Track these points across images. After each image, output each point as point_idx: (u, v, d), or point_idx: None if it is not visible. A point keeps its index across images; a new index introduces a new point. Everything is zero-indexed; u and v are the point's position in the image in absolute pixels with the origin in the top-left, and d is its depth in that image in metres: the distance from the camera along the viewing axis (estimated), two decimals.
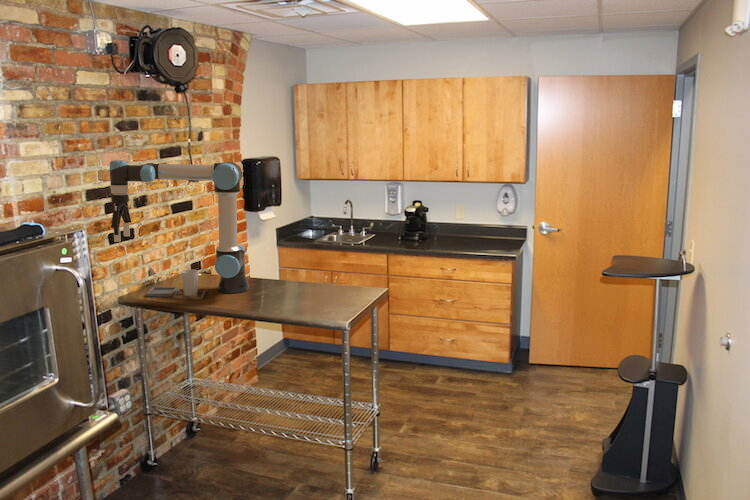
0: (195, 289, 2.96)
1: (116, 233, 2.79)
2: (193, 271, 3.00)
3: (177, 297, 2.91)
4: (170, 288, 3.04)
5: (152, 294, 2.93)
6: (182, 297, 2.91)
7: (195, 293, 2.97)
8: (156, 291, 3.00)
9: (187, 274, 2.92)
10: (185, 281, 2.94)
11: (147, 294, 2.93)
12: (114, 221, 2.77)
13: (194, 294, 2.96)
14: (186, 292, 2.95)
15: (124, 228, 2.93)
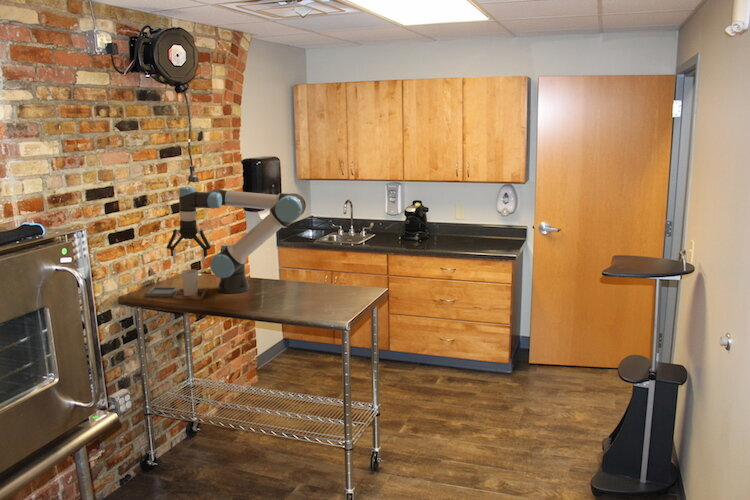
0: (195, 289, 2.96)
1: None
2: (193, 271, 3.00)
3: (177, 297, 2.91)
4: (170, 288, 3.04)
5: (152, 294, 2.93)
6: (182, 297, 2.91)
7: (195, 293, 2.97)
8: (156, 291, 3.00)
9: (187, 274, 2.92)
10: (185, 281, 2.94)
11: (147, 294, 2.93)
12: (169, 242, 2.92)
13: (194, 294, 2.96)
14: (186, 292, 2.95)
15: None
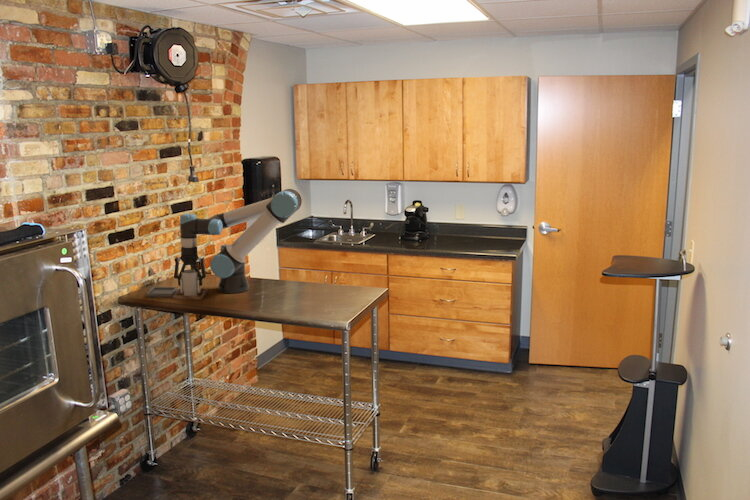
0: (195, 289, 2.96)
1: None
2: (193, 271, 3.00)
3: (177, 297, 2.91)
4: (170, 288, 3.04)
5: (152, 294, 2.93)
6: (182, 297, 2.91)
7: (195, 293, 2.97)
8: (156, 291, 3.00)
9: (187, 274, 2.92)
10: (185, 281, 2.94)
11: (147, 294, 2.93)
12: None
13: (194, 294, 2.96)
14: (186, 292, 2.95)
15: None
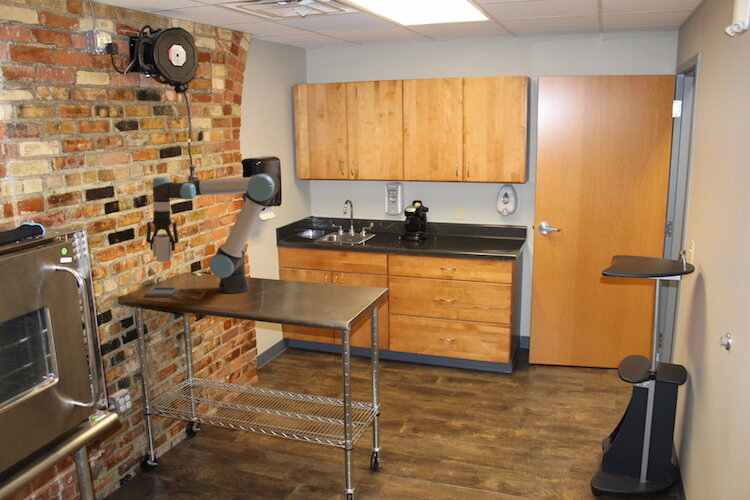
0: (167, 254, 2.94)
1: None
2: (166, 236, 2.97)
3: (177, 297, 2.91)
4: (170, 288, 3.04)
5: (152, 294, 2.93)
6: (182, 297, 2.91)
7: (167, 258, 2.95)
8: (156, 291, 3.00)
9: (159, 238, 2.90)
10: (157, 245, 2.91)
11: (147, 294, 2.93)
12: None
13: (166, 259, 2.94)
14: (158, 256, 2.93)
15: None
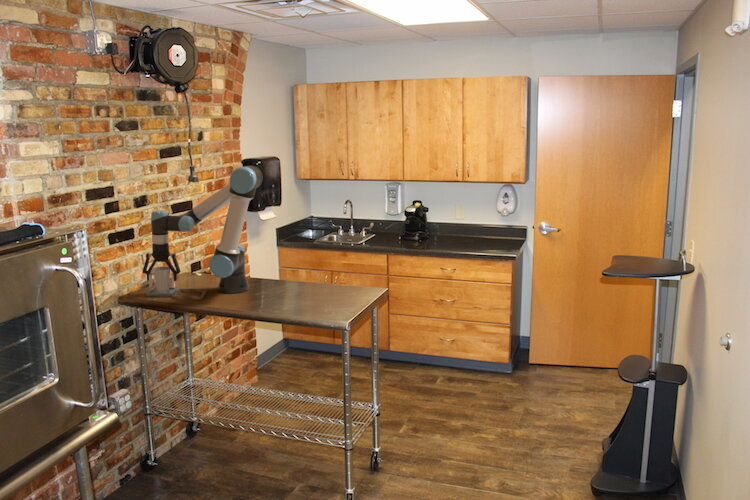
0: (167, 286, 2.97)
1: None
2: (165, 268, 3.01)
3: (177, 297, 2.91)
4: (170, 288, 3.04)
5: (152, 294, 2.93)
6: (182, 297, 2.91)
7: (167, 290, 2.98)
8: None
9: (158, 271, 2.93)
10: (157, 278, 2.95)
11: (147, 294, 2.93)
12: None
13: (166, 291, 2.97)
14: (158, 289, 2.96)
15: None
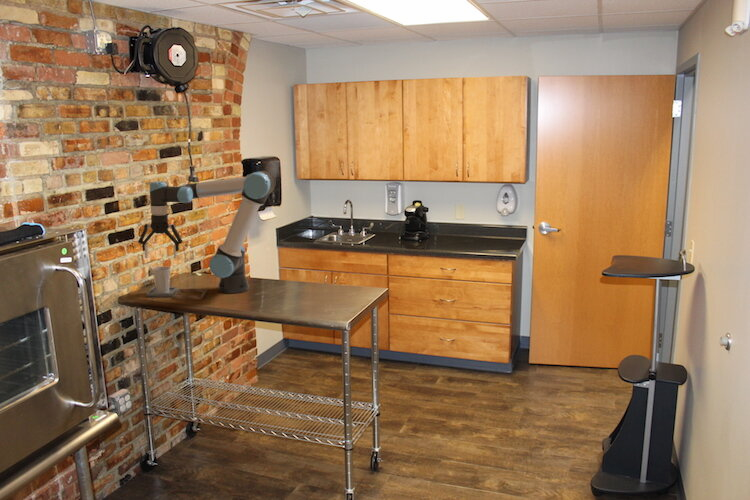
0: (167, 286, 2.97)
1: None
2: (165, 268, 3.01)
3: (177, 297, 2.91)
4: (170, 288, 3.04)
5: (152, 294, 2.93)
6: (182, 297, 2.91)
7: (167, 290, 2.98)
8: None
9: (158, 271, 2.93)
10: (157, 278, 2.95)
11: (147, 294, 2.93)
12: None
13: (166, 291, 2.97)
14: (158, 289, 2.96)
15: None
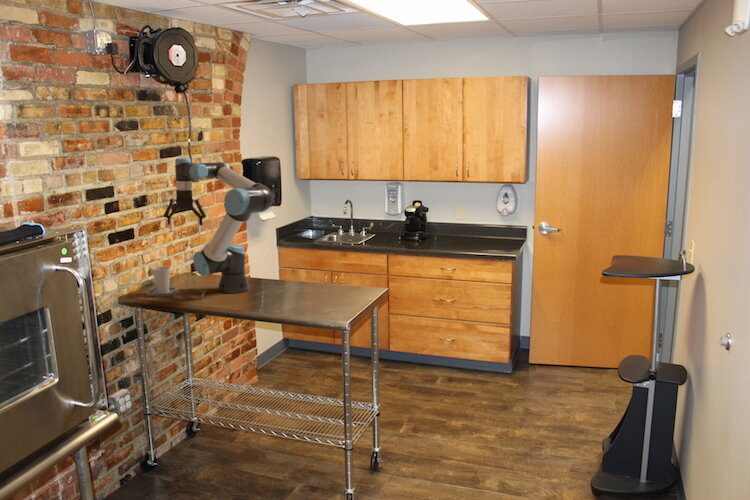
0: (167, 286, 2.97)
1: None
2: (165, 268, 3.01)
3: (177, 297, 2.91)
4: (170, 288, 3.04)
5: (152, 294, 2.93)
6: (182, 297, 2.91)
7: (167, 290, 2.98)
8: None
9: (158, 271, 2.93)
10: (157, 278, 2.95)
11: (147, 294, 2.93)
12: (166, 211, 3.05)
13: (166, 291, 2.97)
14: (158, 289, 2.96)
15: None
